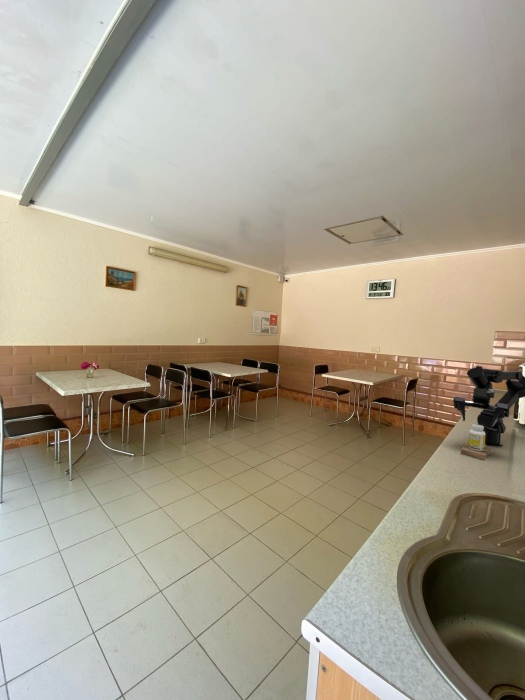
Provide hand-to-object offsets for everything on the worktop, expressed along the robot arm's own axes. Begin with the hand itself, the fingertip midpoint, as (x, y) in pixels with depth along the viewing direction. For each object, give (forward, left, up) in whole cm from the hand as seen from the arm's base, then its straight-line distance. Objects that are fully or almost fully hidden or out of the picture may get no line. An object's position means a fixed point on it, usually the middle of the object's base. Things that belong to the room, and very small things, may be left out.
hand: (477, 423), depth 120 cm
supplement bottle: (-1, -1, -11) cm, 11 cm away
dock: (-1, -1, -13) cm, 13 cm away
